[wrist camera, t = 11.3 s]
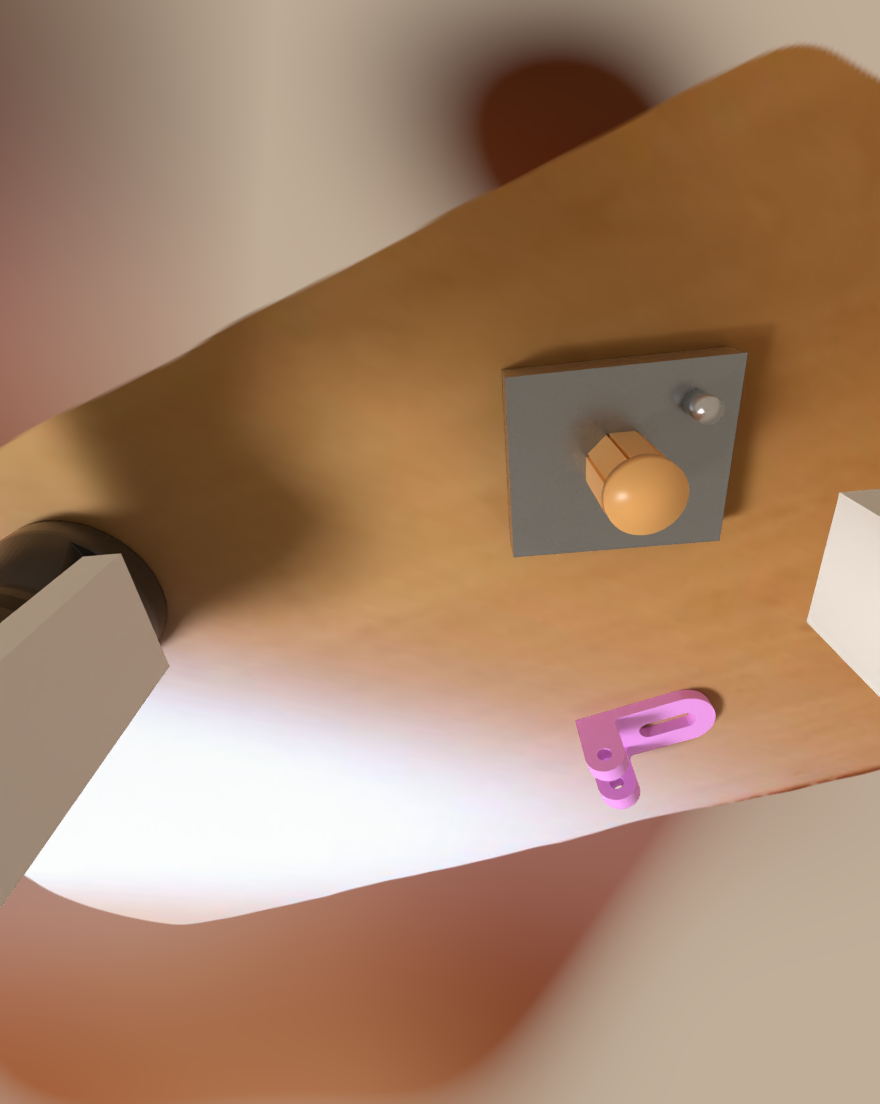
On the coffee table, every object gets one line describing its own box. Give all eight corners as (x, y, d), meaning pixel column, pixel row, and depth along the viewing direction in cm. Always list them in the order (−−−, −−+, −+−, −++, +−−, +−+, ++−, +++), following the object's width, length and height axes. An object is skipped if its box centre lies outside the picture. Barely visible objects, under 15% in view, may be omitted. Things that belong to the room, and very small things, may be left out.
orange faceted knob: (583, 501, 42) (603, 538, 36) (585, 434, 39) (606, 463, 34) (654, 495, 41) (684, 531, 36) (659, 427, 39) (693, 454, 33)
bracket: (590, 755, 59) (606, 813, 53) (575, 719, 56) (589, 776, 50) (714, 720, 56) (746, 777, 50) (703, 681, 54) (735, 736, 47)
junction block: (510, 540, 47) (518, 583, 40) (501, 369, 40) (510, 390, 34) (704, 524, 45) (743, 565, 39) (727, 346, 39) (779, 362, 33)
